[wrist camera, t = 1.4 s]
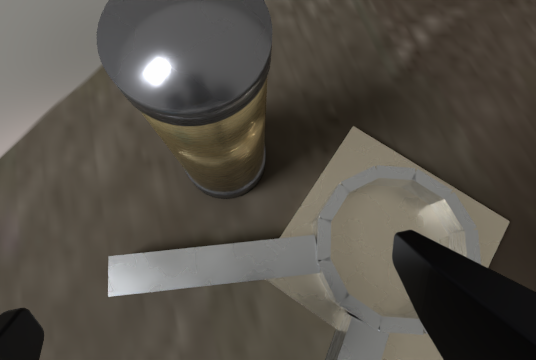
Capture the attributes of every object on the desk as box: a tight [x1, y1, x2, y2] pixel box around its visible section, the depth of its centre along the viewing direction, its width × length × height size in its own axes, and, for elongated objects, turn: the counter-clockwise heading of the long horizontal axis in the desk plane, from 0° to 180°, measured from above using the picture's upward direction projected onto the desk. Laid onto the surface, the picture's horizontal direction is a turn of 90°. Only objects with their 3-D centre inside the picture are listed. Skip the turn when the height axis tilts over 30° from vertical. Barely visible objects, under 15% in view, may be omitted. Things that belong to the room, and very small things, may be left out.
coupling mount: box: [108, 126, 510, 360], centre depth 20 cm, size 20×23×2 cm
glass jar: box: [97, 0, 272, 199], centre depth 16 cm, size 5×5×13 cm
